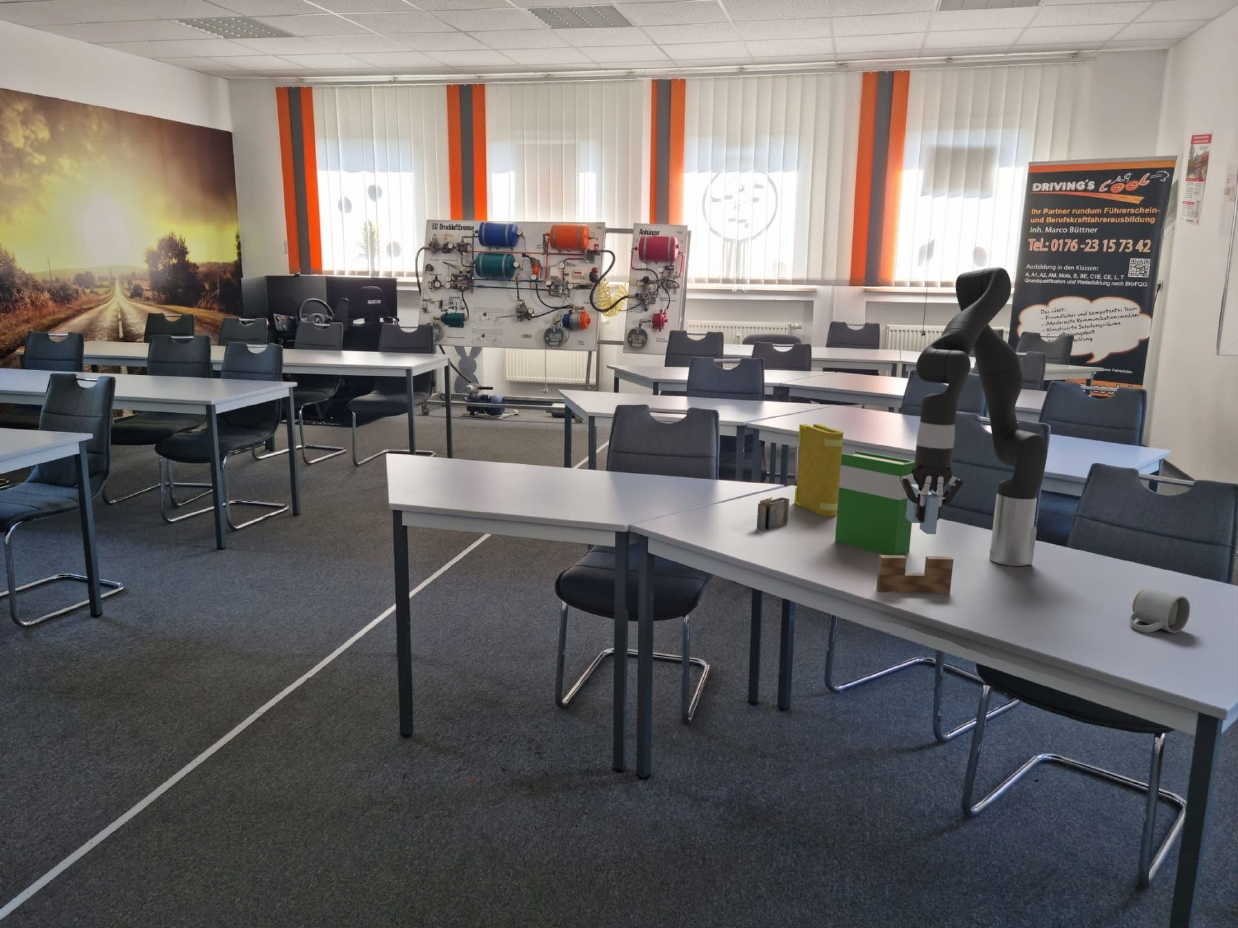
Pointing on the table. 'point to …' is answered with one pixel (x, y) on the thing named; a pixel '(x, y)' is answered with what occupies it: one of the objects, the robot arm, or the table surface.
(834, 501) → the book
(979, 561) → the table surface
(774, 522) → the weathered grey slotted block
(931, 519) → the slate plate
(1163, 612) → the ceramic mug
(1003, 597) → the table surface
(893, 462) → the hardback book
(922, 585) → the walnut plate
